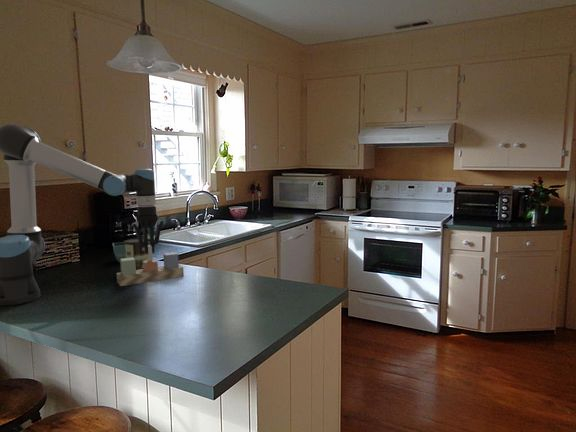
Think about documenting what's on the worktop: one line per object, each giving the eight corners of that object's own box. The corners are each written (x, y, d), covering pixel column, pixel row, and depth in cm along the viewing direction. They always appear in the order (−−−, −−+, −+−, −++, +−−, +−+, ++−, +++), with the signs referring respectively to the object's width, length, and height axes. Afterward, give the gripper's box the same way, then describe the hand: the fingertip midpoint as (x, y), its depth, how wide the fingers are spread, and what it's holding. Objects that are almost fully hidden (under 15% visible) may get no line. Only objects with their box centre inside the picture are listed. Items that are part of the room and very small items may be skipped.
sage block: (123, 277, 180) (122, 261, 179) (121, 275, 184) (120, 258, 183) (136, 275, 182) (135, 259, 181) (133, 273, 187) (132, 257, 186)
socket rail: (120, 286, 178) (119, 276, 178) (117, 282, 184) (116, 273, 184) (183, 276, 192) (183, 267, 191) (178, 272, 198) (178, 264, 197)
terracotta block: (146, 279, 185) (145, 263, 184) (143, 276, 189) (142, 260, 188) (158, 277, 187) (157, 261, 186) (155, 275, 192) (154, 259, 191)
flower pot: (113, 260, 226) (112, 243, 225) (131, 258, 230) (130, 241, 229) (114, 263, 218) (113, 245, 217) (133, 261, 222) (132, 244, 221)
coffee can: (152, 267, 210) (150, 238, 208) (145, 272, 199) (143, 242, 198) (131, 267, 210) (129, 238, 208) (122, 273, 200) (120, 242, 198)
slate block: (167, 271, 189) (166, 255, 188) (164, 268, 193) (163, 253, 192) (178, 269, 192) (178, 253, 191) (175, 267, 196) (174, 251, 195)
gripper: (132, 207, 178) (136, 264, 181) (164, 205, 184) (167, 260, 187) (128, 206, 184) (132, 261, 187) (159, 203, 191) (163, 257, 194)
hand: (150, 260), depth 187 cm, fingers closed
